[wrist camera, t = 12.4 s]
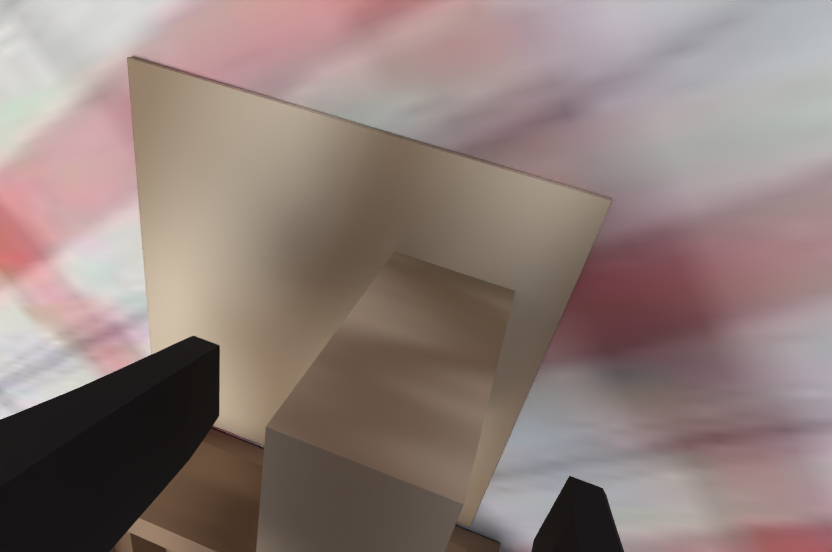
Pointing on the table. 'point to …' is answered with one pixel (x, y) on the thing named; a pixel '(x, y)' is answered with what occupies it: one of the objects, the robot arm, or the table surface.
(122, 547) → the tray
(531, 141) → the table surface
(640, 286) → the table surface
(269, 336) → the lid
